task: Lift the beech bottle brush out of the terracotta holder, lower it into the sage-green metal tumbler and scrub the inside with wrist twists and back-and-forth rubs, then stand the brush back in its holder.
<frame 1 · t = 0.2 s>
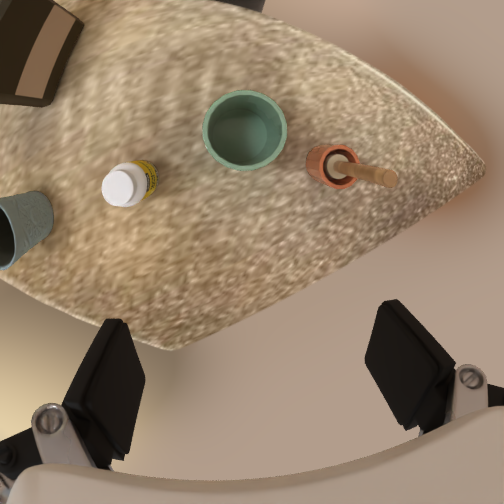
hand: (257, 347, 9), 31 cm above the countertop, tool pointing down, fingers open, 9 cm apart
bottle: (53, 62, 26), on the countertop
tumbler: (239, 135, 35), on the countertop
blue-gray pot: (37, 213, 35), on the countertop
holder: (324, 163, 37), on the countertop
brush: (325, 163, 37), resting on holder
supplement bottle: (142, 178, 36), on the countertop
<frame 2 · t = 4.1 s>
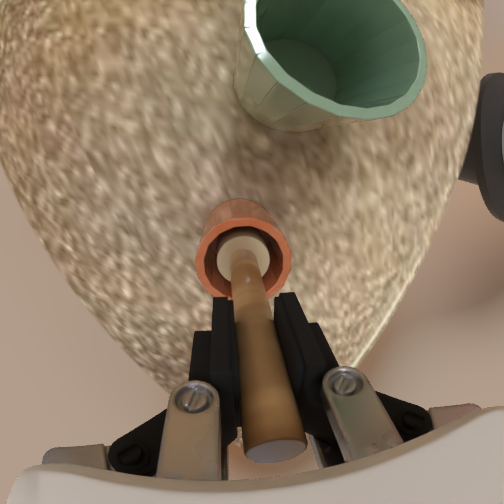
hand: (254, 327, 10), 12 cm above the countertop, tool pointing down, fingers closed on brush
tumbler: (288, 81, 17), on the countertop
holder: (239, 233, 22), on the countertop
brush: (239, 235, 21), point 1 cm above the countertop, touching gripper, holder
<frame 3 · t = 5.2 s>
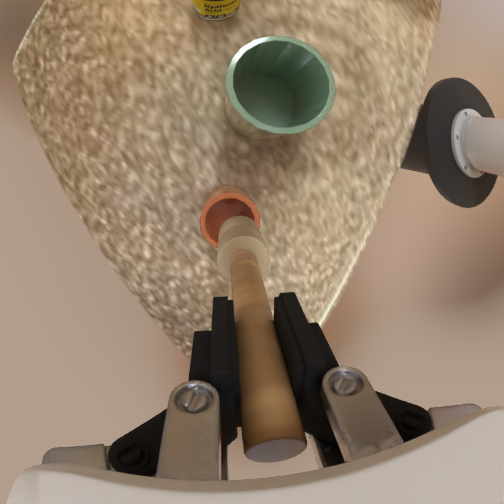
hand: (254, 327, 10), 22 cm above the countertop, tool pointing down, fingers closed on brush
tumbler: (261, 104, 27), on the countertop
holder: (228, 209, 31), on the countertop
brush: (239, 235, 21), point 11 cm above the countertop, touching gripper
supplement bottle: (216, 6, 22), on the countertop
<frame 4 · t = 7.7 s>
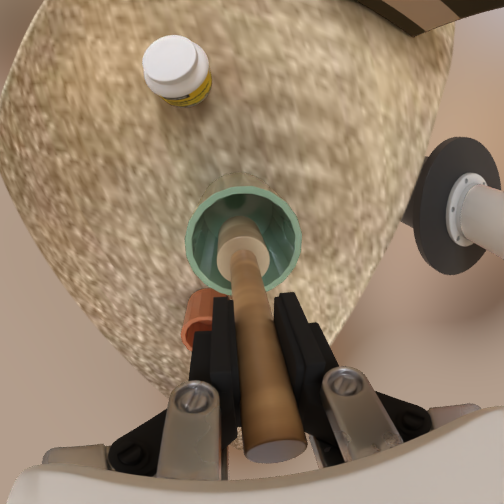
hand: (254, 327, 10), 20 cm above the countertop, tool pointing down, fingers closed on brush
tumbler: (238, 210, 29), on the countertop
holder: (209, 307, 33), on the countertop
brush: (239, 235, 21), point 9 cm above the countertop, touching gripper
supplement bottle: (187, 85, 24), on the countertop
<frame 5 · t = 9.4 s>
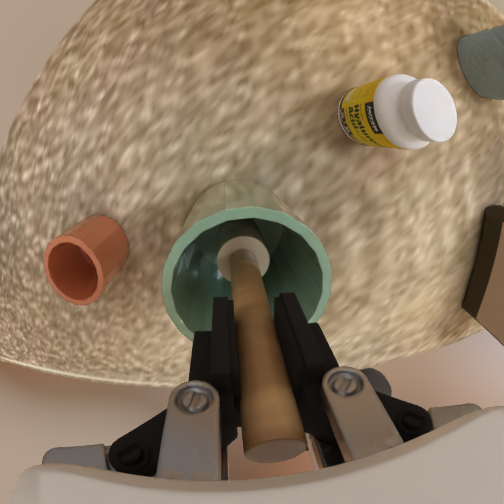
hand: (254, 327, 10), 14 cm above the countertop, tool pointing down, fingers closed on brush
bottle: (485, 258, 28), on the countertop
tumbler: (237, 227, 23), on the countertop
blue-gray pot: (476, 68, 18), on the countertop
holder: (101, 244, 22), on the countertop
brush: (239, 235, 21), point 2 cm above the countertop, touching gripper
supplement bottle: (362, 116, 20), on the countertop
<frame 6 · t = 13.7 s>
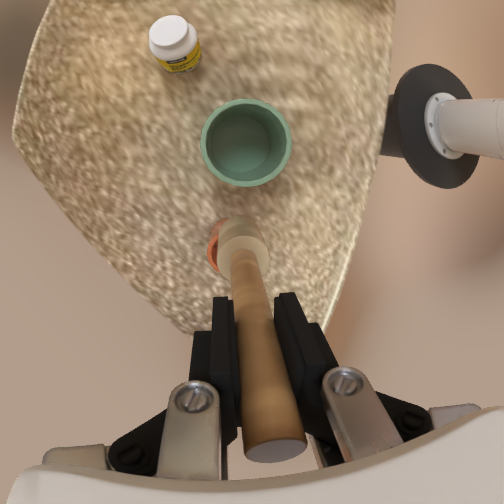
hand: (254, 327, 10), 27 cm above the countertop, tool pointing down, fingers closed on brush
tumbler: (240, 144, 33), on the countertop
holder: (230, 237, 38), on the countertop
brush: (239, 235, 21), point 16 cm above the countertop, touching gripper
supplement bottle: (181, 57, 28), on the countertop
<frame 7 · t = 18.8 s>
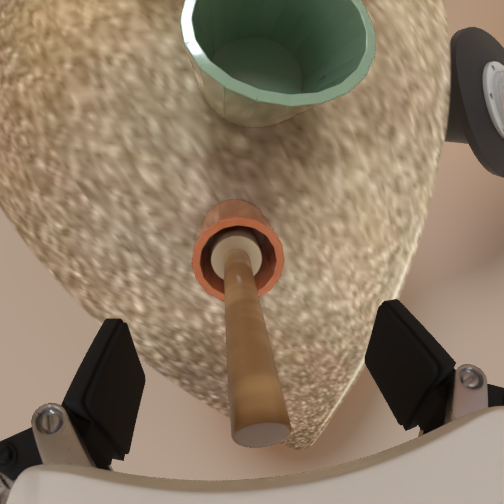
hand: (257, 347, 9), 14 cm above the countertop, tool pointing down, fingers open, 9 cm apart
tumbler: (254, 78, 18), on the countertop
holder: (234, 233, 22), on the countertop
brush: (233, 235, 22), resting on holder
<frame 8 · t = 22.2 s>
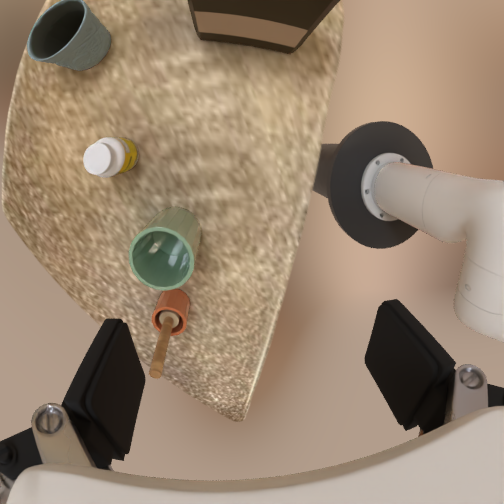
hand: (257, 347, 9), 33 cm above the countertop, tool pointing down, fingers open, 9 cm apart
bottle: (249, 27, 31), on the countertop
tumbler: (175, 232, 42), on the countertop
blue-gray pot: (90, 49, 28), on the countertop
holder: (174, 302, 46), on the countertop
brush: (173, 303, 46), resting on holder
supplement bottle: (124, 155, 36), on the countertop
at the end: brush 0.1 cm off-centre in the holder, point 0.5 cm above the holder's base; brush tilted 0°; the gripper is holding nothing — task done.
